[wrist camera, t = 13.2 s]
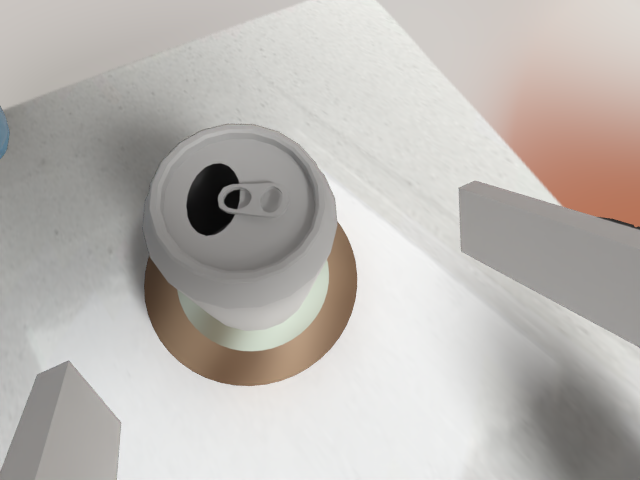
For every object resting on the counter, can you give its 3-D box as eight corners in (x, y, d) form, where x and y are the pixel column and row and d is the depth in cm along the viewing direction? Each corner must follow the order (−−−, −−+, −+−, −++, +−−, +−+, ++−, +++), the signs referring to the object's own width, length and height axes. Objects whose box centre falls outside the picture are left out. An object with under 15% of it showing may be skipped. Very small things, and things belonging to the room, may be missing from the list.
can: (208, 215, 24) (154, 90, 13) (315, 229, 25) (351, 121, 14) (185, 326, 22) (94, 287, 11) (305, 337, 23) (338, 313, 11)
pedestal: (125, 354, 24) (104, 353, 21) (198, 179, 29) (190, 158, 26) (325, 405, 24) (333, 411, 21) (363, 224, 29) (373, 209, 26)
